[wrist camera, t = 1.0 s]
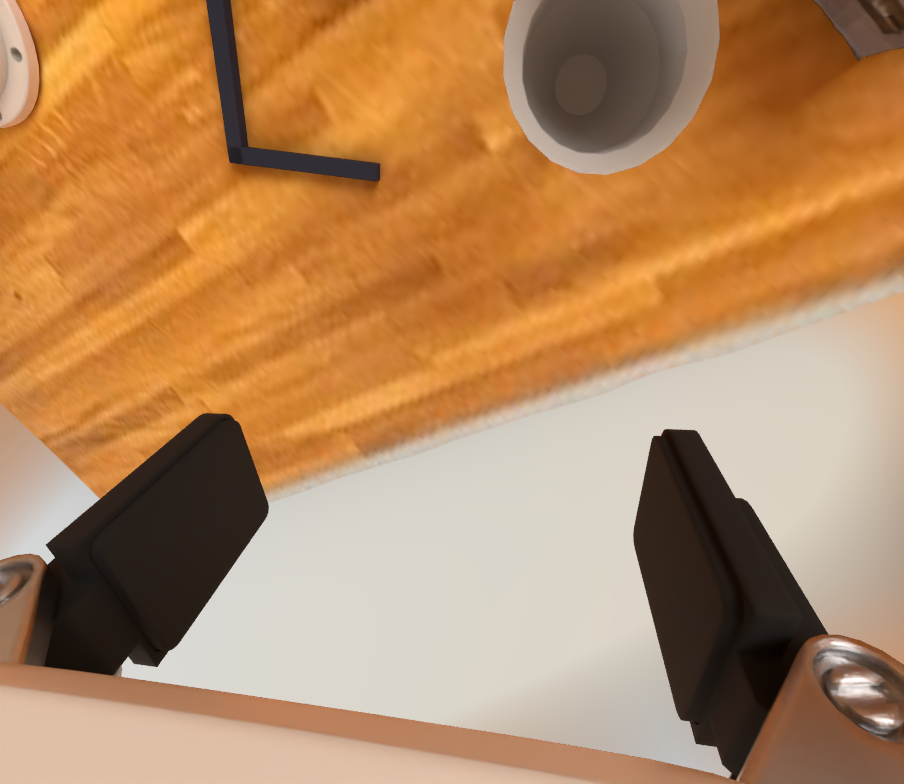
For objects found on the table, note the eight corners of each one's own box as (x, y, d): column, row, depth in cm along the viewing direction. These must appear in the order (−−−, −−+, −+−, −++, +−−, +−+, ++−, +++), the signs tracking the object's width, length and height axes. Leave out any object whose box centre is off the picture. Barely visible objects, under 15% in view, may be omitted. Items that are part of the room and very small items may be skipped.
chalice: (494, 96, 31) (460, 55, 15) (574, 4, 28) (632, -162, 12) (560, 179, 33) (589, 216, 17) (641, 101, 30) (763, 62, 14)
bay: (236, 162, 36) (229, 162, 35) (205, -63, 29) (195, -70, 28) (380, 180, 35) (376, 181, 34) (383, -48, 28) (378, -54, 27)
